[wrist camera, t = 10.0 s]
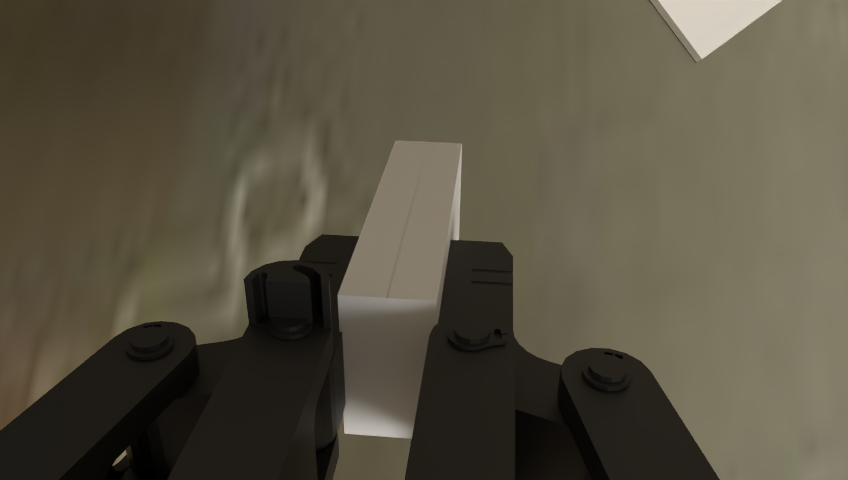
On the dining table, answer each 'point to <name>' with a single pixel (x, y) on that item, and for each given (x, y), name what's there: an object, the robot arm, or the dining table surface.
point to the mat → (709, 21)
